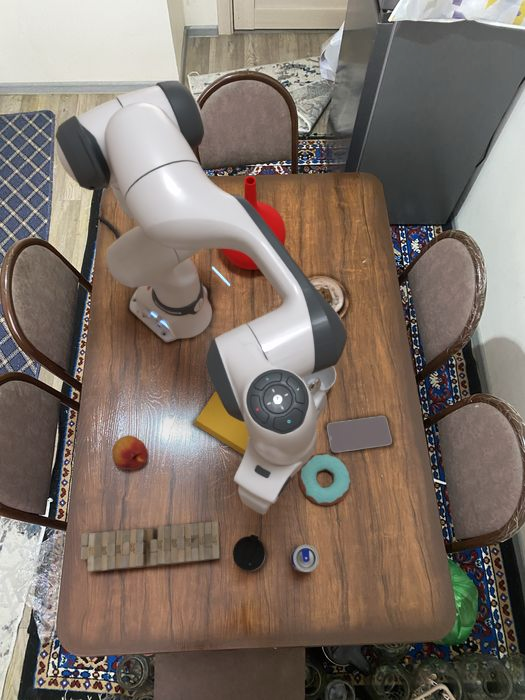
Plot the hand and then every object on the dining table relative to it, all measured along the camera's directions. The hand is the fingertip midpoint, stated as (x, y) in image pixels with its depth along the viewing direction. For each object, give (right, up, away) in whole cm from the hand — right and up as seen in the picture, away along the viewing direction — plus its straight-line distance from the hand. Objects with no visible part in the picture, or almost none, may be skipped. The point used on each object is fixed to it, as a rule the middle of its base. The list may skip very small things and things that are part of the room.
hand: (288, 458), depth 84 cm
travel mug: (-7, -29, +33) cm, 44 cm away
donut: (+10, -13, +39) cm, 43 cm away
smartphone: (+19, -3, +43) cm, 48 cm away
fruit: (-35, -8, +41) cm, 55 cm away
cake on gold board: (+12, +31, +58) cm, 67 cm away
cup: (+9, +8, +48) cm, 50 cm away
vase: (-7, +45, +64) cm, 78 cm away
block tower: (-28, -27, +33) cm, 51 cm away
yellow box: (-11, +1, +45) cm, 46 cm away
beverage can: (+4, -29, +32) cm, 44 cm away
